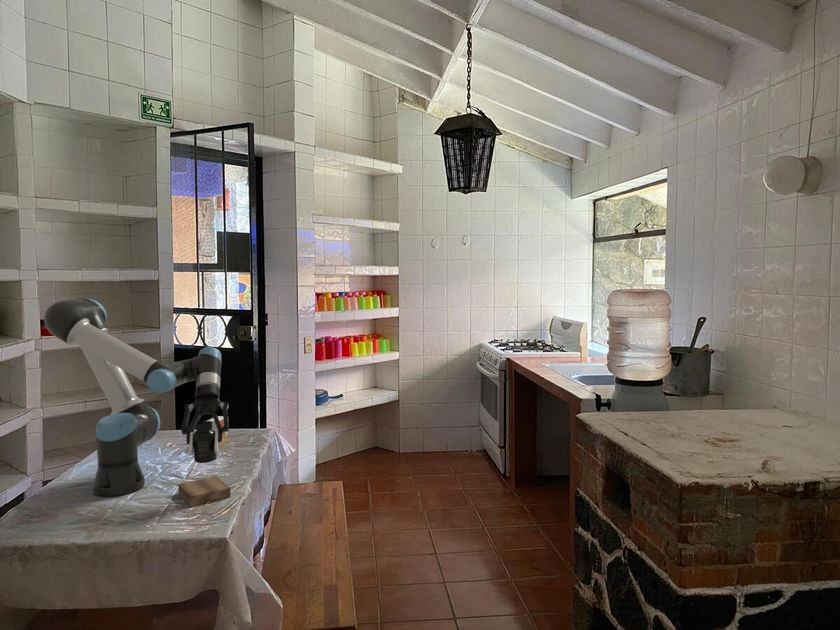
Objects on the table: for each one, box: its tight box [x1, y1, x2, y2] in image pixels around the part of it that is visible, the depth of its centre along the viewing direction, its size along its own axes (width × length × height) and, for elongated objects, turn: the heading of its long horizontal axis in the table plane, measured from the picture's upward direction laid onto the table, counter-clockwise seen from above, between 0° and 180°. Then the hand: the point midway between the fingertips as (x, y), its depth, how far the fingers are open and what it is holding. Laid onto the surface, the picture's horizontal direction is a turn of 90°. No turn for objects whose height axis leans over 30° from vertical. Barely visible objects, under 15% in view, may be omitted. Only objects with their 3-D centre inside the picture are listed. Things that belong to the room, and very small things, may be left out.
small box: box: [206, 415, 230, 448], centre depth 245 cm, size 8×6×10 cm
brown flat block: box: [177, 475, 231, 507], centre depth 191 cm, size 12×13×3 cm
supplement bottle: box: [193, 420, 218, 464], centre depth 190 cm, size 7×7×12 cm
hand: (203, 451), depth 187 cm, fingers closed on supplement bottle, 7 cm apart
